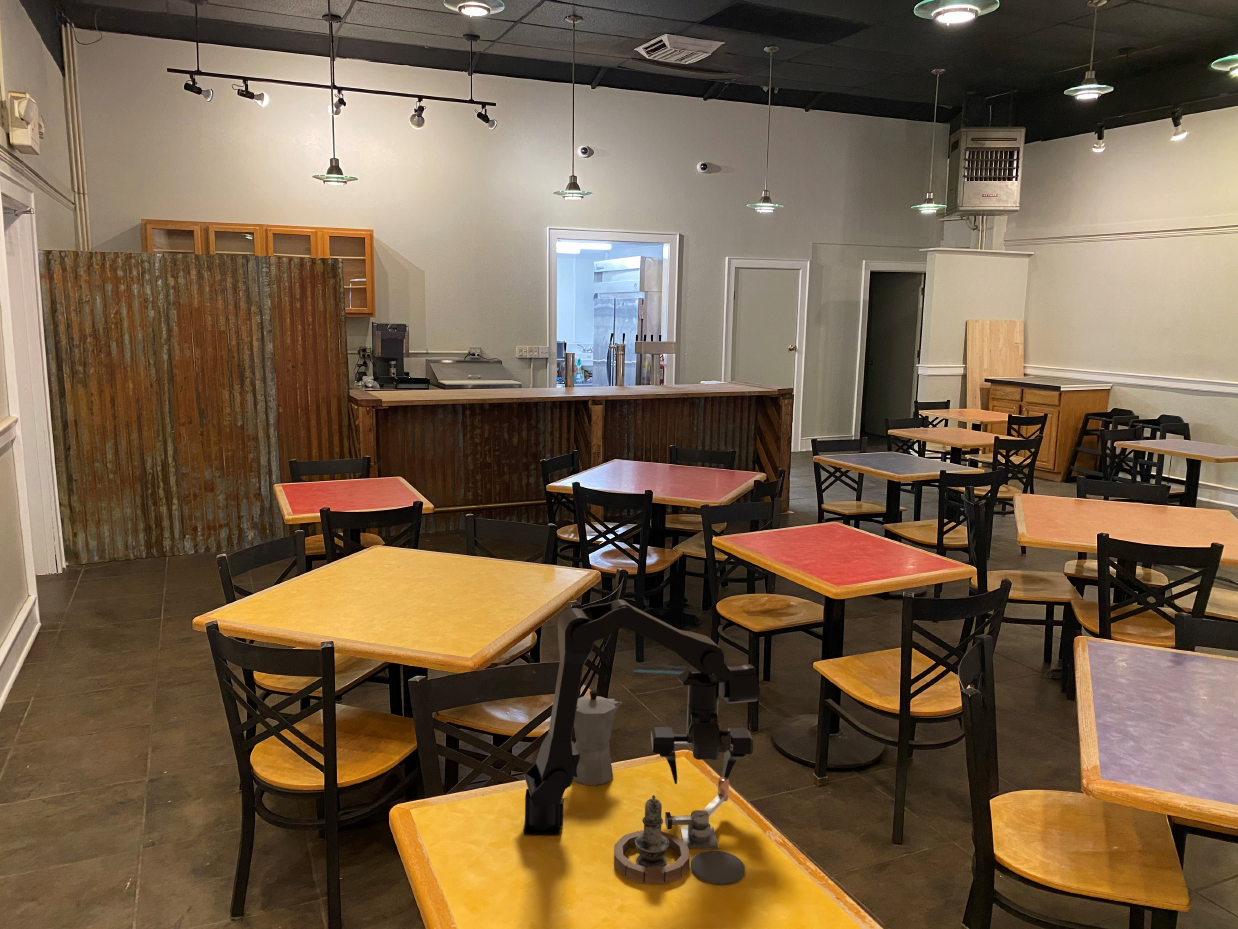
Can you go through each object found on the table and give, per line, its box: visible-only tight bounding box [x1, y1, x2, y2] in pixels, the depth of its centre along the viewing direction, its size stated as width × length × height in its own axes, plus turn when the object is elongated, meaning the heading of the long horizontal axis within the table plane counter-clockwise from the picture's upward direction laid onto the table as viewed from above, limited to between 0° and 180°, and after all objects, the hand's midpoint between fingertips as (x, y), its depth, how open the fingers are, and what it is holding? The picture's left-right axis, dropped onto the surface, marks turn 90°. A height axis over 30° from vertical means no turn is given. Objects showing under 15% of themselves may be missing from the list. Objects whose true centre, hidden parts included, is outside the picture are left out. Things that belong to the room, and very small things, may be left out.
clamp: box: [664, 776, 730, 830], centre depth 157 cm, size 7×16×4 cm, turn 149°
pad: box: [690, 849, 746, 886], centre depth 145 cm, size 9×9×1 cm
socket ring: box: [613, 829, 691, 885], centre depth 147 cm, size 13×13×2 cm
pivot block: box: [679, 823, 719, 850], centre depth 154 cm, size 6×6×2 cm
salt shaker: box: [635, 794, 669, 867], centre depth 146 cm, size 6×6×12 cm
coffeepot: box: [573, 689, 623, 786], centre depth 175 cm, size 15×9×18 cm, turn 119°
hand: (699, 783), depth 164 cm, fingers open, 9 cm apart
